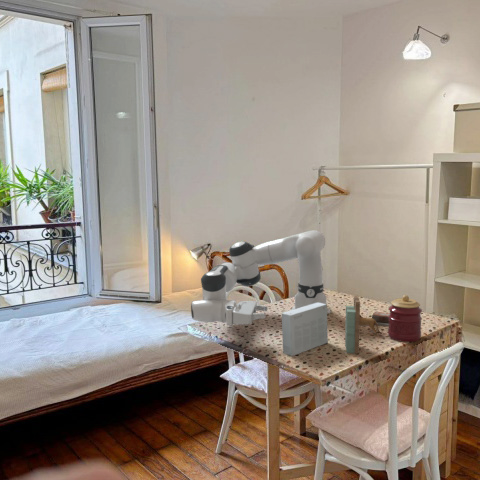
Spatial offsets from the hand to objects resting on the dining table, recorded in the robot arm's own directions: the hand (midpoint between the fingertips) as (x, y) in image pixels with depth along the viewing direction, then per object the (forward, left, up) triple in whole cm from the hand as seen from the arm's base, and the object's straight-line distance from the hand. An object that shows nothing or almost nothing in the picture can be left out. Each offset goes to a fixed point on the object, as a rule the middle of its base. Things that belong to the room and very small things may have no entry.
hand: (266, 312), depth 196 cm
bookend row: (-1, +33, -14) cm, 36 cm away
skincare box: (-1, +15, -14) cm, 21 cm away
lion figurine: (-20, +39, -14) cm, 46 cm away
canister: (-17, +55, -14) cm, 59 cm away
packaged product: (-34, +53, -15) cm, 65 cm away
